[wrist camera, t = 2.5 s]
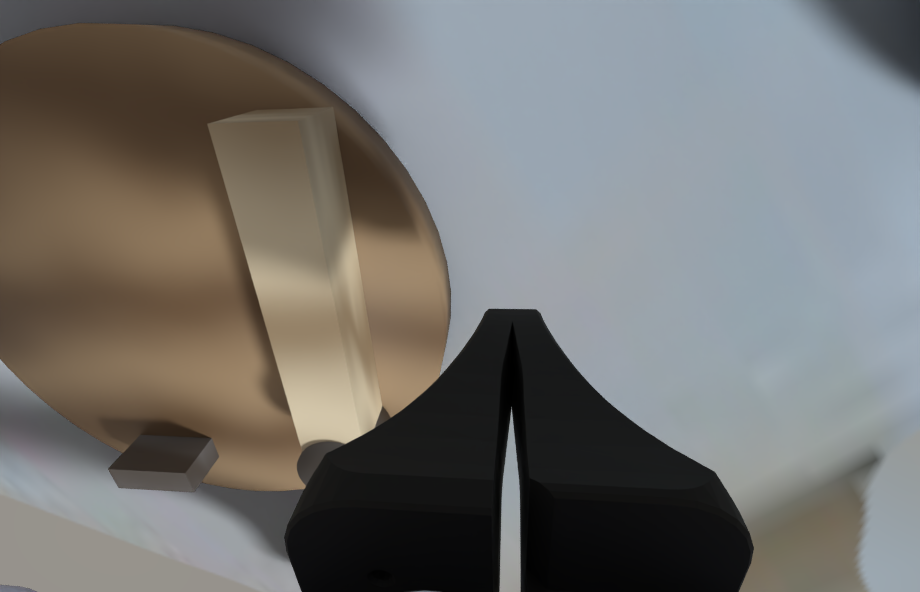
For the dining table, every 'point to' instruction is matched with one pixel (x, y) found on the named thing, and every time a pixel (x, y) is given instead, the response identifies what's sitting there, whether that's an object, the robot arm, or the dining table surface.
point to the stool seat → (180, 252)
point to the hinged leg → (304, 269)
